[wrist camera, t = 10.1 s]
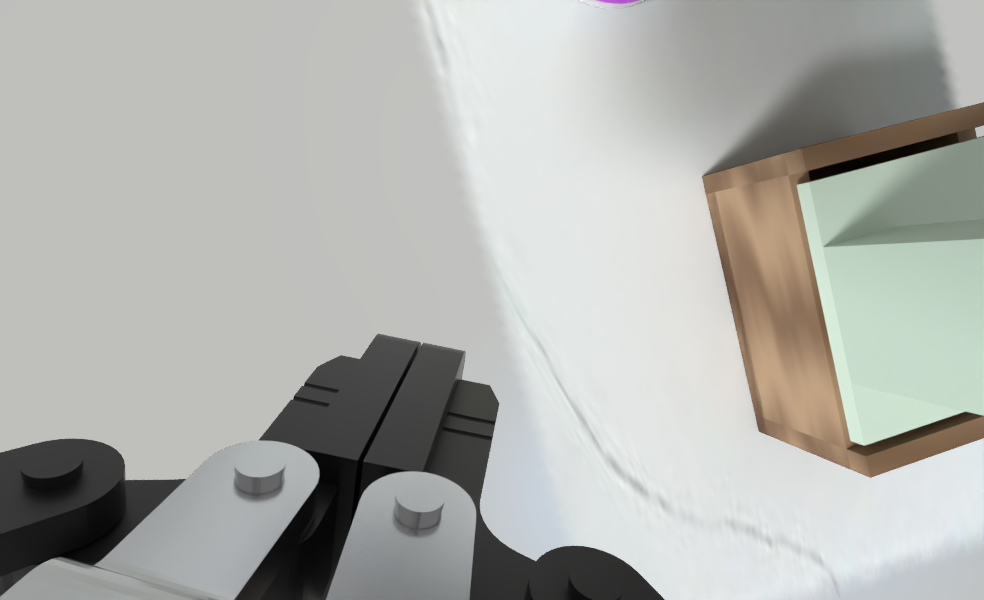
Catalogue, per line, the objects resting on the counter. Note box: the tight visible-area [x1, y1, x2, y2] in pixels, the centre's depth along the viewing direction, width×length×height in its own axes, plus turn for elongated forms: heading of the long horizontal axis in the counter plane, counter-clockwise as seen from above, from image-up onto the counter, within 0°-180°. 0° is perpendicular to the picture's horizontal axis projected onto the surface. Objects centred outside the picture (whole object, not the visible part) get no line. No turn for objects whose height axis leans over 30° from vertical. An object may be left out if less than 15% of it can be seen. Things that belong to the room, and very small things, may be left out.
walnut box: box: [702, 103, 984, 478], centre depth 28 cm, size 12×8×7 cm, turn 14°
